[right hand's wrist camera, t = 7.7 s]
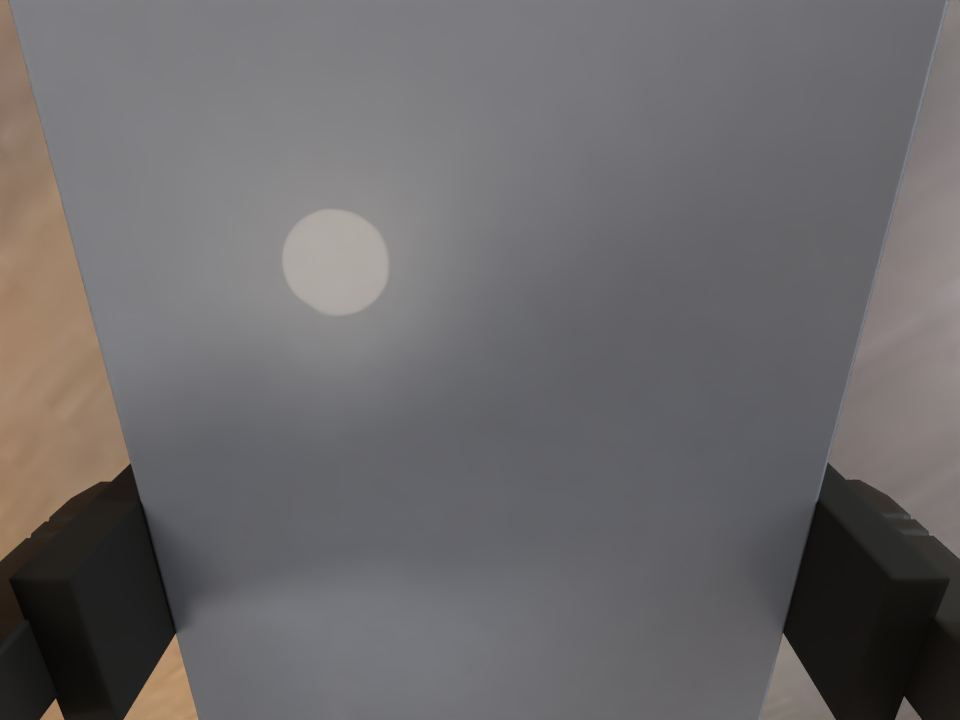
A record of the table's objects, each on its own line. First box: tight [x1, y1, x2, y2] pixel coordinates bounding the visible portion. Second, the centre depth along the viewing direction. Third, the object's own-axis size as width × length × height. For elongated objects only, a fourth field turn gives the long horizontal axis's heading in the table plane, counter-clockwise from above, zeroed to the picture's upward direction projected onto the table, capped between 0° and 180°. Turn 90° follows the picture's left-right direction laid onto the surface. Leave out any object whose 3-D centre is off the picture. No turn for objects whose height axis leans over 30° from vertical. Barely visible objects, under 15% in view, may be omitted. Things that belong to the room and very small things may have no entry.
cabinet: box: [8, 0, 949, 720], centre depth 13 cm, size 16×10×10 cm, turn 0°
